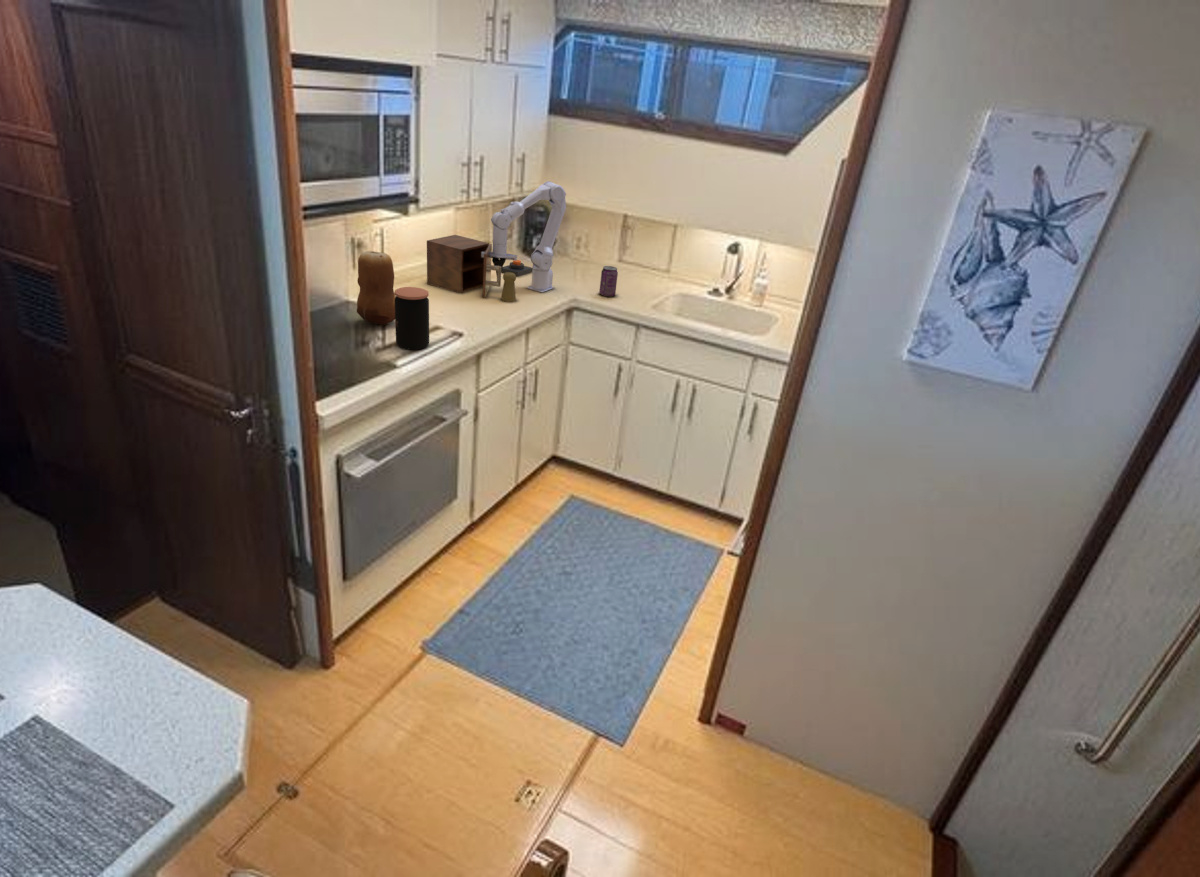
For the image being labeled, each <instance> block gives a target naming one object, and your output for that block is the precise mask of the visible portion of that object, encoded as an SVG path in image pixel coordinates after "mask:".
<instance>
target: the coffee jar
mask: <svg viewBox="0 0 1200 877" xmlns="http://www.w3.org/2000/svg"><path fill="white" fill-rule="evenodd" d="M394 294H395V296H396V297H395V320H394V323H395V324H394V326H395V328H394V329H395V342H396V344H397V346H398V347H399V348H401V349H403V350H408V351H419V350H423V349H426V348H427V347H428V345H429V344H430V300H429V298H428V297H429V296H430V295H429V294H430V292H429V290H427V289H425V288H421V287H416V286H404V287H398V288H397V289H394Z"/></svg>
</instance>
